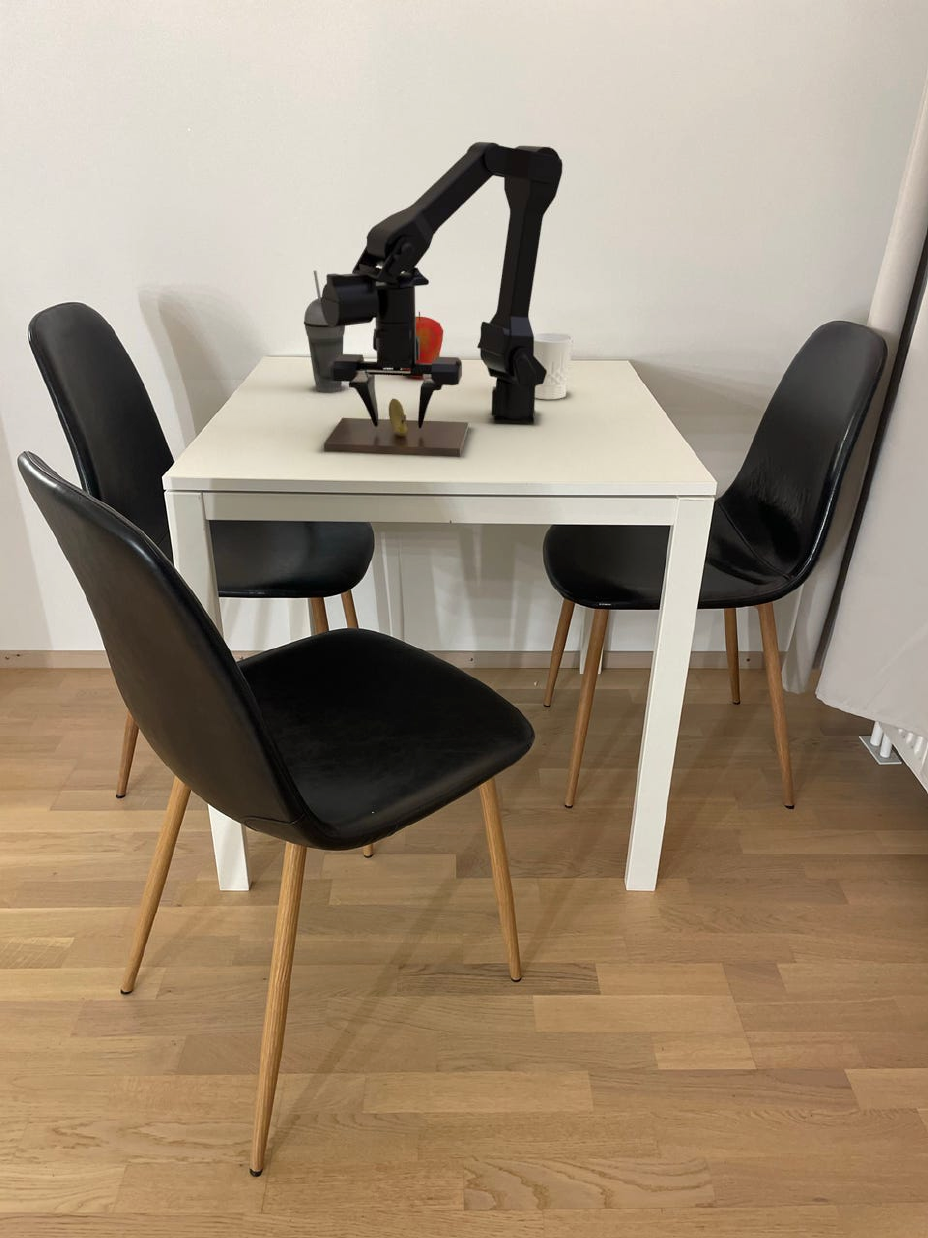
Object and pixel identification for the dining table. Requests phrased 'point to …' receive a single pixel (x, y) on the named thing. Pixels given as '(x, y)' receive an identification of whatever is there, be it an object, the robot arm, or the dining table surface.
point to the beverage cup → (322, 344)
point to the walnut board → (397, 437)
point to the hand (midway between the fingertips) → (398, 426)
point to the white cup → (553, 363)
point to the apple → (428, 340)
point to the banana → (397, 418)
